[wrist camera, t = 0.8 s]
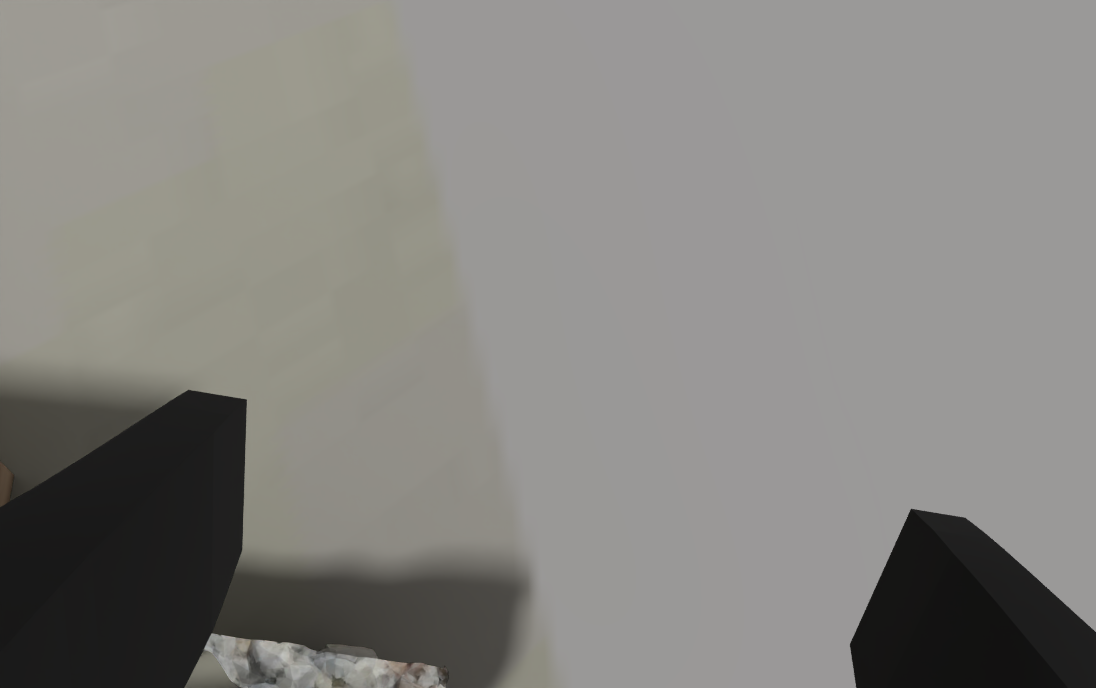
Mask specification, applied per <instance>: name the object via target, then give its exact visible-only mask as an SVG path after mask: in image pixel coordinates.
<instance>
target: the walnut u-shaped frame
mask: <svg viewBox="0 0 1096 688" xmlns="http://www.w3.org/2000/svg"><path fill="white" fill-rule="evenodd" d="M13 478H14V475H13V474H12V473H11V472H10V471H9V470H8V469H7V468H6V467H5V466H4V465H3V464H2V463H1V462H0V507H1V506H3V505H5V504H6V503H8V502H9V501H10V496H11V490H12V484H13Z"/></svg>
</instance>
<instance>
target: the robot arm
mask: <svg viewBox="0 0 1096 688" xmlns="http://www.w3.org/2000/svg"><path fill="white" fill-rule="evenodd" d="M246 407H247V400H246V399H240V398H234V397H228V396H222V395H216V394H210V393H204V392H198V391H191V390H188V391H186V392H184V393H183V394H181V395H179V396H178V397H176V398H174V399H173V400H171V401H170V402H168V403H167V404H165V405H164V406H162V407H160V408H159V409H157V410H156V411H154V412H153V413H151V414H150V415H148V416H147V417H145V418H143V419H142V420H140V421H139V422H137V423H136V424H134V425H133V426H131V427H130V428H128V429H126V430H125V431H123V432H122V433H120V434H119V435H117V436H116V437H114V438H113V439H111V440H109V441H108V442H106V443H105V444H103V445H102V446H100V447H99V448H97V449H96V450H94V451H92V452H91V453H89V454H88V455H86V456H85V457H83V458H81V459H80V460H78V461H77V462H75V463H73V464H72V465H70V466H68V467H67V468H65V469H64V470H62V471H60V472H59V473H57V474H56V475H54V476H52V477H51V478H49V479H48V480H46V481H44V482H43V483H41V484H39V485H38V486H36V487H35V488H33V489H31V490H30V491H28V492H26V493H24V494H22V495H21V496H19V497H17V498H15V499H14V500H12V501H10V502H8V503H6V504H5V505H3V506H1V507H0V688H184V687H185V685H186V683H187V681H188V679H189V677H190V675H191V674H192V672H193V670H194V668H195V666H196V664H197V662H198V660H199V658H200V656H201V654H202V652H203V650H204V648H205V646H206V644H207V642H208V640H209V638H210V636H211V634H212V631H213V628H214V626H215V623H216V620H217V618H218V615H219V613H220V610H221V607H222V605H223V602H224V599H225V597H226V594H227V591H228V588H229V585H230V583H231V580H232V577H233V574H234V571H235V569H236V566H237V563H238V560H239V557H240V554H241V552H242V539H243V506H244V473H245V440H246ZM850 648H851V655H852V662H853V668H854V675H855V682H856V688H1096V632H1095V631H1094V630H1093V629H1092V628H1091V627H1090V626H1088V625H1087V624H1086V623H1085V622H1084V621H1083V620H1082V619H1080V618H1079V617H1078V616H1077V615H1076V614H1075V613H1074V612H1073V611H1072V610H1071V609H1070V608H1069V607H1067V606H1066V605H1065V604H1064V603H1063V602H1062V601H1061V600H1060V599H1059V598H1057V597H1056V596H1055V595H1054V594H1053V593H1052V592H1051V591H1050V590H1049V589H1047V587H1045V586H1044V585H1043V584H1042V583H1041V582H1040V581H1039V580H1038V579H1037V578H1036V577H1034V576H1033V575H1032V574H1031V573H1030V572H1029V571H1028V570H1027V569H1026V568H1024V567H1023V566H1022V565H1021V564H1020V563H1019V562H1018V561H1017V560H1015V559H1014V558H1013V557H1012V556H1011V555H1010V554H1009V553H1007V552H1006V551H1005V550H1004V549H1003V548H1002V547H1001V546H999V545H998V544H997V543H996V542H995V541H994V540H993V539H991V538H990V537H989V536H988V535H987V534H985V533H984V532H983V531H982V530H980V529H979V528H978V527H977V526H975V525H974V524H973V523H971V522H970V521H969V520H967V519H966V518H963V517H956V516H951V515H945V514H939V513H933V512H927V511H920V510H915V509H911V510H910V512H909V515H908V517H907V519H906V522H905V523H904V526H903V528H902V530H901V532H900V535H899V537H898V539H897V541H896V543H895V546H894V548H893V550H892V552H891V555H890V557H889V559H888V561H887V564H886V566H885V568H884V570H883V572H882V575H881V577H880V579H879V581H878V583H877V586H876V588H875V590H874V592H873V594H872V597H871V599H870V601H869V603H868V606H867V608H866V610H865V612H864V614H863V617H862V619H861V621H860V623H859V626H858V628H857V630H856V632H855V635H854V637H853V639H852V641H851V643H850Z"/></svg>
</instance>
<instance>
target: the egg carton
mask: <svg viewBox="0 0 1096 688" xmlns="http://www.w3.org/2000/svg"><path fill="white" fill-rule="evenodd" d="M204 650H205V651H209V652H211V653H212V654H213V655H214V656H215V658H216V659H217V660H218V662H219V663H220V665H221V666H222V668H223V669H224V671H225V673H226V674H227V676H228V677H229V679H230V680H231V681H232V682H233V683H235V684H236V685H238V686H239V687H242V688H446V683H447V681H448V678H449V675H448V670H447V668H446V667H445V666H444V668H441V667H436V666H430V665H426V664H424V663H401V662H394V661H387V660H381V659H378V657H377V655H376V653H375V652H374V650H373V649H371V648H365V647H357V646H347V645H341V644H326V647H325V649H322V650H320V651H315V650H312V649H309V648H307V647H306V646H304V645H299V644H293V643H287V642H273V641H266V640H250V639H242V638H235V637H230V636H224V635H219V634H213V633H212V634H211V636H210V638H209V640H208V642H207V644H206V646H205V648H204Z"/></svg>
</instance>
